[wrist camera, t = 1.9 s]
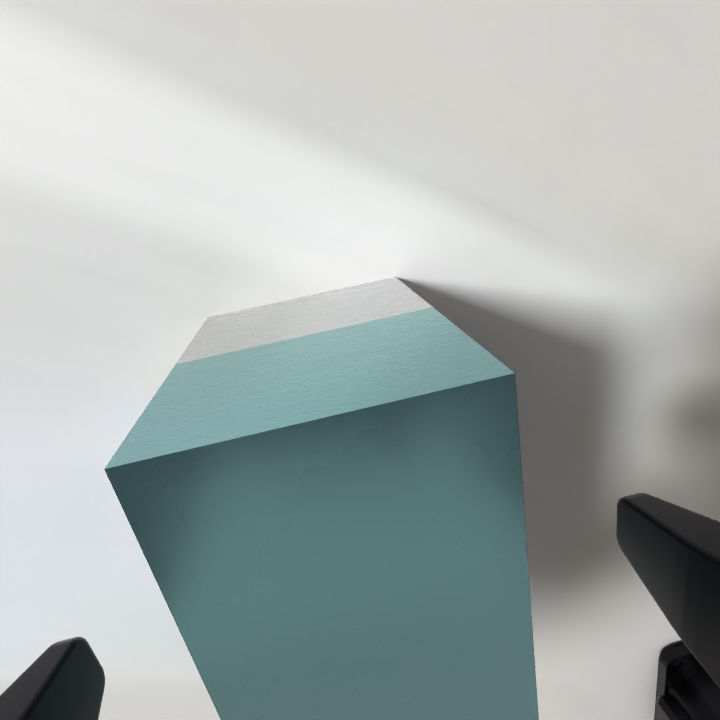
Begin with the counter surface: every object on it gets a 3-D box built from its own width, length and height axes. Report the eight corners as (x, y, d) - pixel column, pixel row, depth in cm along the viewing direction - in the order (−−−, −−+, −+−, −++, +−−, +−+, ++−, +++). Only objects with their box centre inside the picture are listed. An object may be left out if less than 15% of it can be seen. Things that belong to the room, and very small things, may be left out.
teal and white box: (207, 317, 12) (103, 469, 5) (395, 276, 12) (514, 373, 6) (275, 528, 14) (262, 807, 8) (429, 490, 15) (539, 728, 8)
